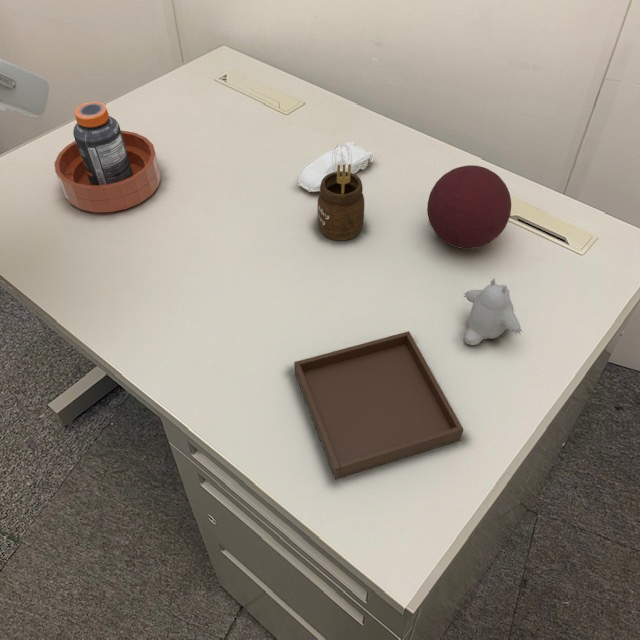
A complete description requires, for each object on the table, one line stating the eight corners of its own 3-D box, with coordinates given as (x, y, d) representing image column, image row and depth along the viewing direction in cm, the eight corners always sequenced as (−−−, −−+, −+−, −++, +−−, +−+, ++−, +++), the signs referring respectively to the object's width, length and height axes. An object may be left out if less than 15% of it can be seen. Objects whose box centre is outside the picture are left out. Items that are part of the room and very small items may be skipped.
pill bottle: (91, 172, 91) (67, 99, 83) (133, 166, 92) (114, 93, 84) (90, 198, 88) (64, 124, 79) (134, 192, 88) (114, 118, 80)
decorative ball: (452, 203, 87) (464, 138, 79) (517, 236, 82) (536, 171, 75) (407, 239, 82) (414, 175, 75) (472, 277, 78) (488, 212, 70)
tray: (335, 479, 60) (335, 469, 59) (294, 373, 68) (293, 361, 67) (460, 440, 63) (463, 429, 61) (407, 342, 71) (409, 330, 70)
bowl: (68, 224, 85) (57, 196, 81) (62, 167, 93) (52, 140, 90) (168, 203, 88) (162, 175, 84) (153, 150, 96) (147, 123, 92)
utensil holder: (360, 211, 86) (364, 132, 77) (365, 243, 82) (370, 163, 73) (316, 213, 86) (315, 134, 77) (319, 245, 82) (318, 165, 73)
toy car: (375, 163, 93) (376, 143, 90) (316, 201, 87) (315, 180, 85) (350, 150, 95) (351, 129, 93) (291, 185, 90) (290, 165, 87)
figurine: (528, 340, 71) (546, 292, 65) (494, 368, 69) (509, 320, 63) (472, 300, 75) (485, 251, 69) (438, 325, 73) (448, 276, 67)
